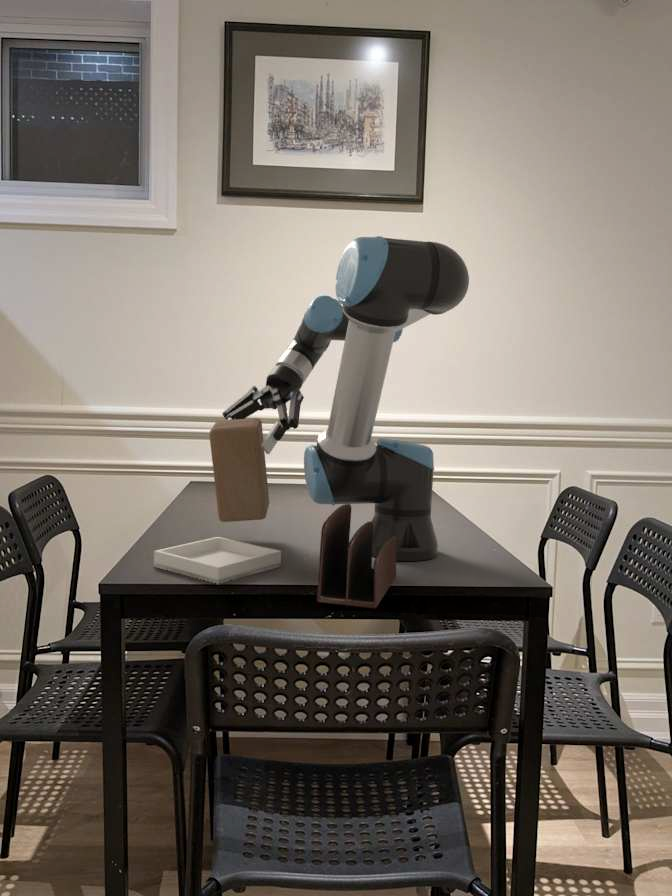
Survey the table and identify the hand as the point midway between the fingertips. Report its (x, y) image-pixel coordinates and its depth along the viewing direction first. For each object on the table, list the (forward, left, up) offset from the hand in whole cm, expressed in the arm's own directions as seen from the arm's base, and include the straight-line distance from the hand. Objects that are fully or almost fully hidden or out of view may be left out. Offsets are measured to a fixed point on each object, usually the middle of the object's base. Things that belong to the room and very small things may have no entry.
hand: (240, 446), depth 167 cm
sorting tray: (-11, +17, -20) cm, 29 cm away
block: (0, -2, -15) cm, 15 cm away
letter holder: (-39, +11, -21) cm, 45 cm away
